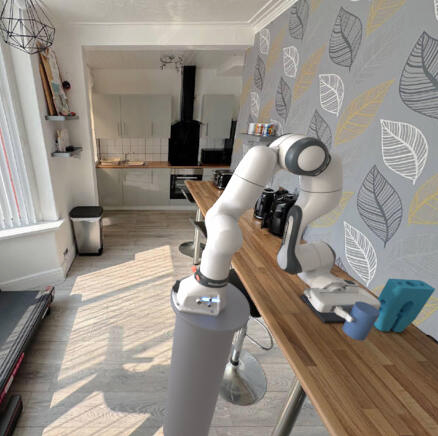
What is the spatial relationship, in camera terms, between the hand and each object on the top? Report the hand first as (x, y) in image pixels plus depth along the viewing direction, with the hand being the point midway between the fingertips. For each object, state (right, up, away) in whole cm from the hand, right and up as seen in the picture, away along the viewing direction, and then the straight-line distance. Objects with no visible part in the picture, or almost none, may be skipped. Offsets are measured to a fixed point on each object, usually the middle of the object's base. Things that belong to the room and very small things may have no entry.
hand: (364, 320), depth 69 cm
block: (+26, -11, +20) cm, 35 cm away
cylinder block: (0, -5, +3) cm, 6 cm away
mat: (+12, -7, +27) cm, 31 cm away
